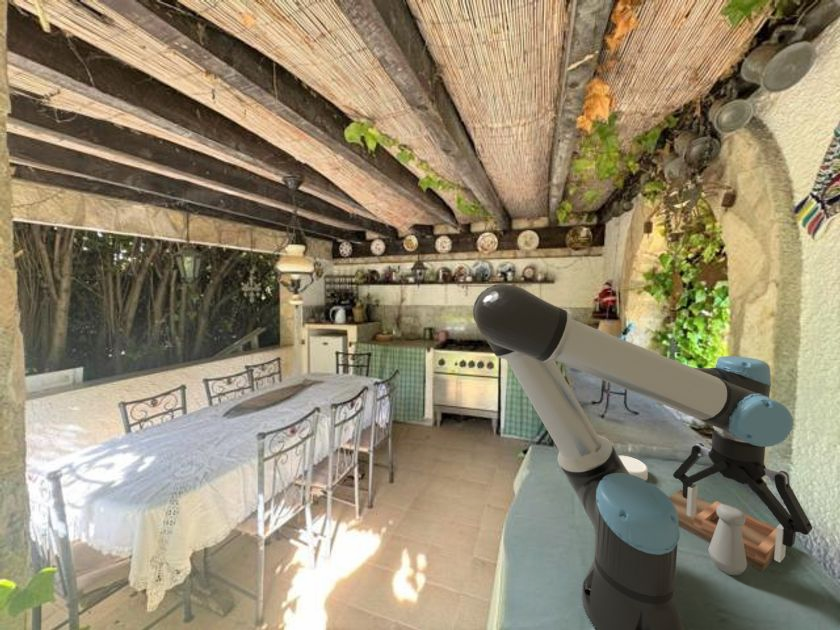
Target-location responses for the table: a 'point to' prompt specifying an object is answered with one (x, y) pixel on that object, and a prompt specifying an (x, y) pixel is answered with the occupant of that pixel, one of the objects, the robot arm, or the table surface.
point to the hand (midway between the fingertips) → (731, 534)
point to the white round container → (635, 467)
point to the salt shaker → (728, 541)
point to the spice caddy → (754, 531)
